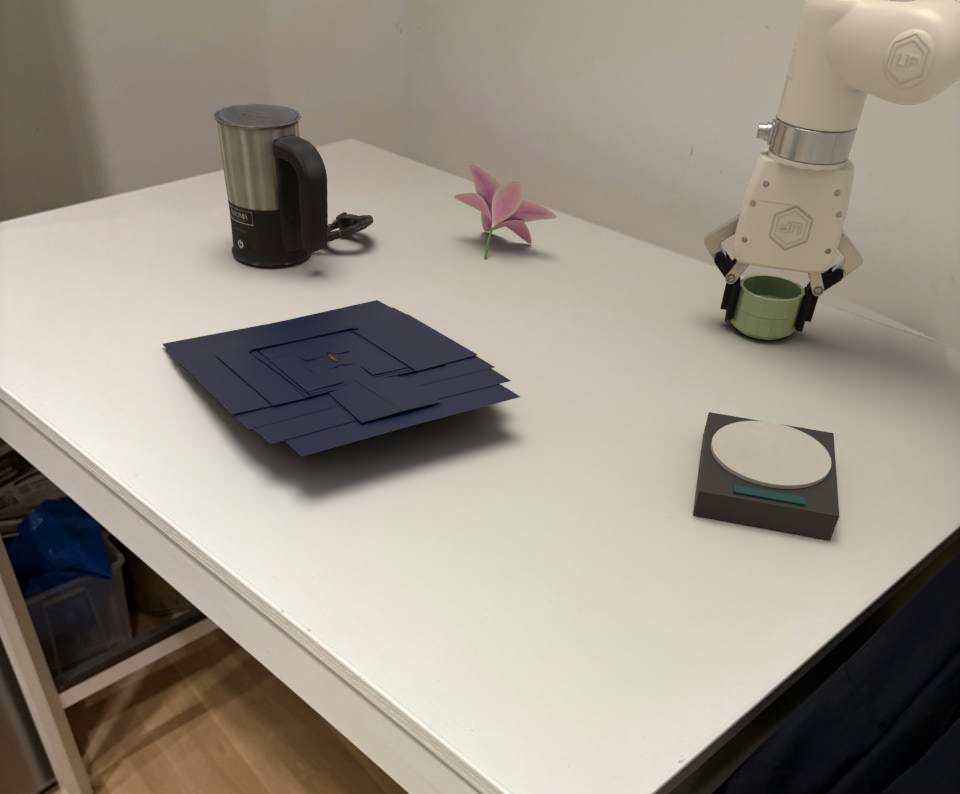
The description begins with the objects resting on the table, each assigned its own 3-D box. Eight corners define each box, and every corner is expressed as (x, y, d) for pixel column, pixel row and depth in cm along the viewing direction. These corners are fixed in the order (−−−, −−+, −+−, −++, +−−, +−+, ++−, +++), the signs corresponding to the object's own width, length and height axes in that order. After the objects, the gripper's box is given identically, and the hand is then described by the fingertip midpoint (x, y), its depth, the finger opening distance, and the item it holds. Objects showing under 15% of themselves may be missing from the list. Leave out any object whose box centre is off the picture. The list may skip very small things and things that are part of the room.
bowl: (792, 320, 104) (804, 279, 101) (793, 346, 99) (805, 304, 96) (731, 311, 105) (741, 270, 101) (728, 337, 100) (738, 295, 97)
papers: (283, 494, 73) (277, 452, 70) (164, 371, 93) (156, 335, 90) (537, 421, 83) (539, 382, 81) (381, 324, 103) (378, 291, 101)
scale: (825, 456, 84) (835, 428, 82) (830, 540, 74) (841, 511, 72) (702, 435, 85) (709, 407, 83) (692, 515, 76) (700, 486, 74)
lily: (559, 272, 113) (574, 187, 110) (487, 249, 105) (502, 157, 103) (494, 271, 121) (507, 192, 119) (423, 249, 113) (435, 164, 111)
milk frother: (215, 258, 108) (195, 116, 97) (286, 216, 118) (275, 84, 108) (323, 284, 104) (314, 139, 94) (386, 238, 115) (385, 104, 105)
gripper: (717, 142, 88) (680, 324, 100) (908, 165, 85) (846, 348, 97) (721, 121, 93) (686, 296, 105) (901, 142, 90) (843, 319, 103)
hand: (763, 320), depth 101 cm, fingers closed on bowl, 6 cm apart
